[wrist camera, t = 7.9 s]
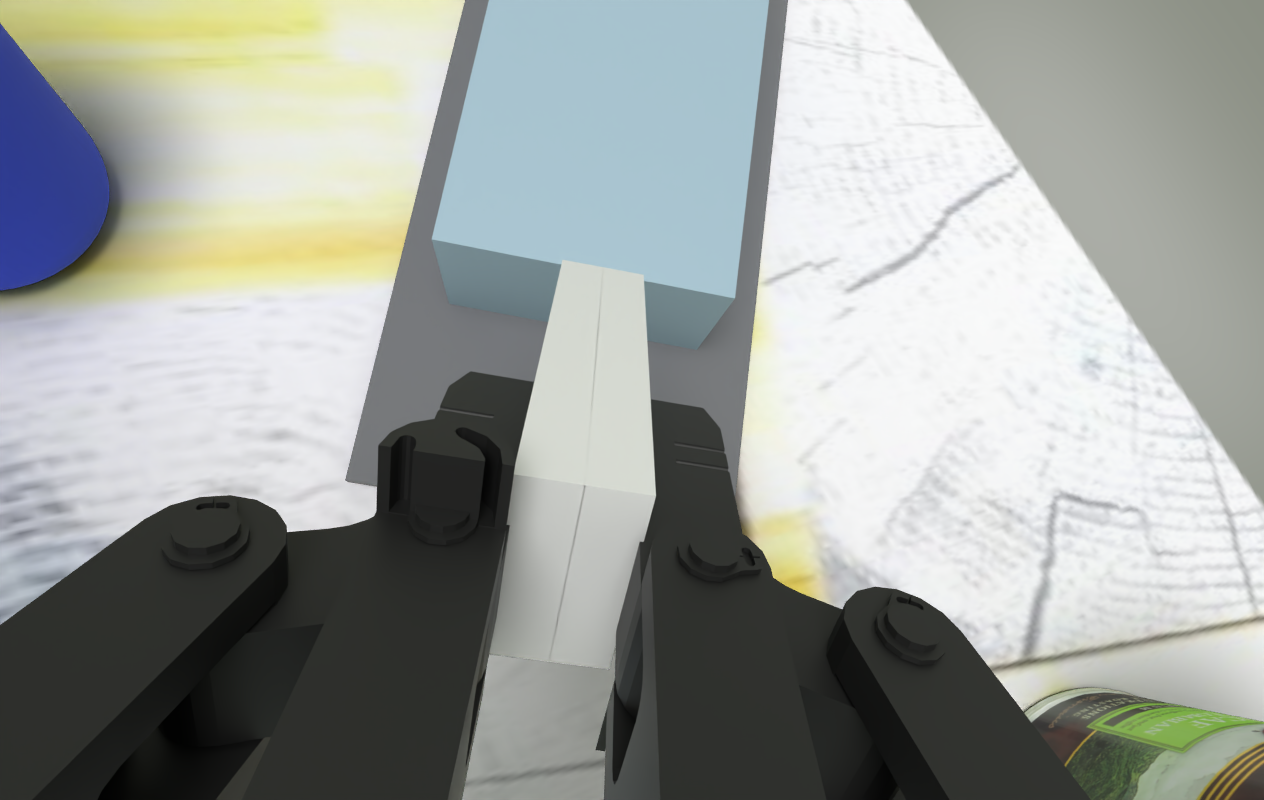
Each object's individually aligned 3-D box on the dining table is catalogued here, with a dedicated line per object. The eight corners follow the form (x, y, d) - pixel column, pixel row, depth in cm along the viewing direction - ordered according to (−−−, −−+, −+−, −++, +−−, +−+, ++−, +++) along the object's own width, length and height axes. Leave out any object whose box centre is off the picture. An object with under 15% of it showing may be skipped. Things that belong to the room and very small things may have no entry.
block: (734, 298, 22) (781, -114, 26) (431, 239, 21) (531, -178, 25) (696, 349, 26) (741, -5, 31) (448, 303, 25) (530, -55, 30)
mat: (727, 541, 25) (730, 541, 25) (348, 481, 24) (345, 480, 24) (786, -12, 32) (789, -19, 31) (488, -84, 30) (488, -92, 30)
